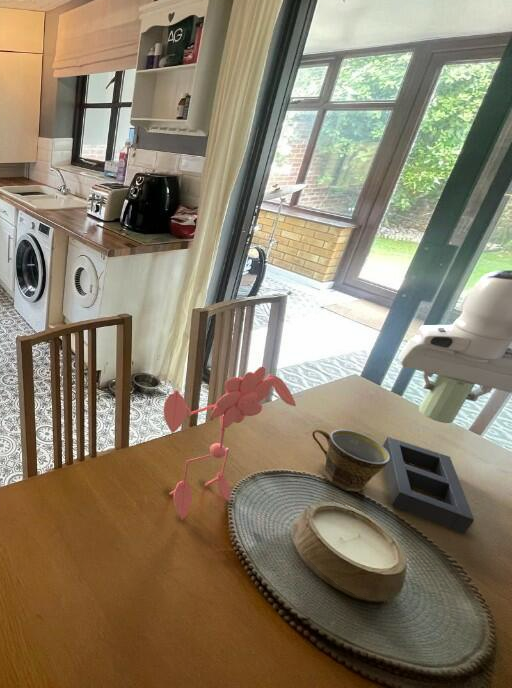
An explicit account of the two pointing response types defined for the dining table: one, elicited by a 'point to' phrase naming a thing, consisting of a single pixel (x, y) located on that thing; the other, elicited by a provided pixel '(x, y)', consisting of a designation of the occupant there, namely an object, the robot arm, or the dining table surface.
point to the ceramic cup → (352, 458)
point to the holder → (426, 485)
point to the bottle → (445, 399)
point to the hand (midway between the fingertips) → (447, 393)
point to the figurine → (223, 422)
